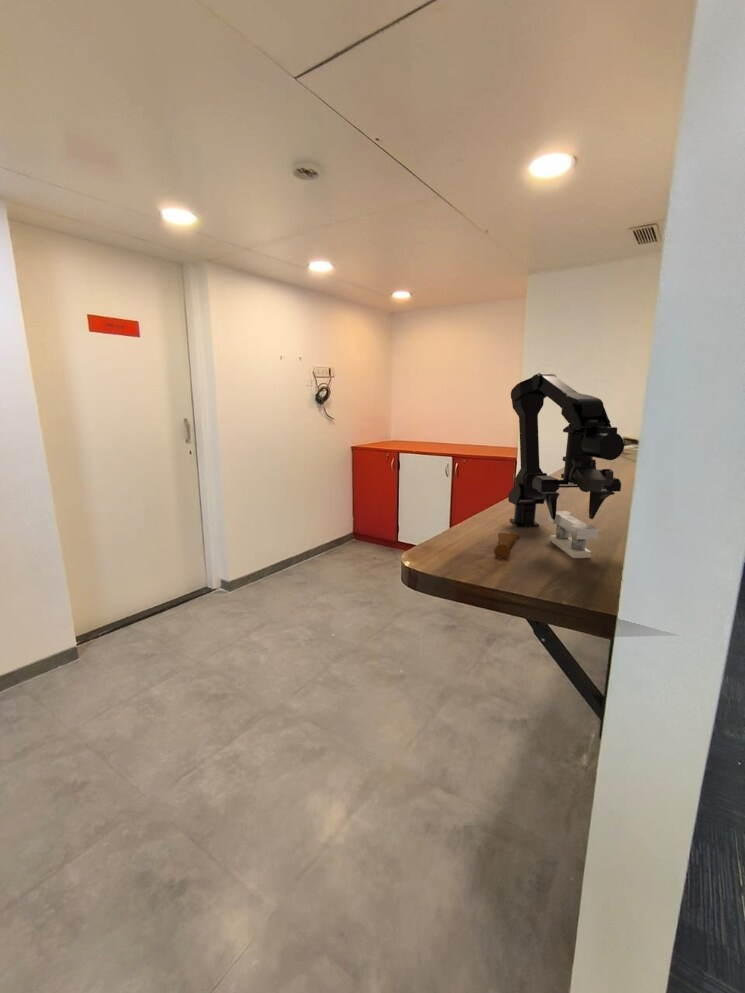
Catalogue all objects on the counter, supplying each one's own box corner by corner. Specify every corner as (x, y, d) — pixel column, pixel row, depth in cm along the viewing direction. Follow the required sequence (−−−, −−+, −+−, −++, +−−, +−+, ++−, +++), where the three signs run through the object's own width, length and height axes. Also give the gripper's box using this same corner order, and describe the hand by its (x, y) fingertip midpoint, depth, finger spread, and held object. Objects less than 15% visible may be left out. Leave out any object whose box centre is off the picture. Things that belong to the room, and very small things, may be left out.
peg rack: (550, 540, 113) (552, 522, 112) (565, 540, 113) (567, 521, 112) (573, 558, 101) (575, 537, 100) (590, 557, 101) (592, 536, 100)
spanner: (576, 539, 99) (577, 529, 98) (547, 520, 113) (548, 511, 113) (597, 539, 99) (598, 528, 98) (566, 520, 114) (567, 511, 113)
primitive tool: (498, 534, 120) (499, 522, 119) (519, 536, 118) (520, 523, 117) (493, 559, 102) (494, 544, 101) (518, 562, 100) (519, 547, 99)
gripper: (555, 459, 94) (548, 529, 97) (641, 458, 94) (631, 528, 98) (534, 452, 104) (528, 515, 108) (611, 451, 105) (603, 515, 109)
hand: (572, 519), depth 106 cm, fingers open, 9 cm apart
